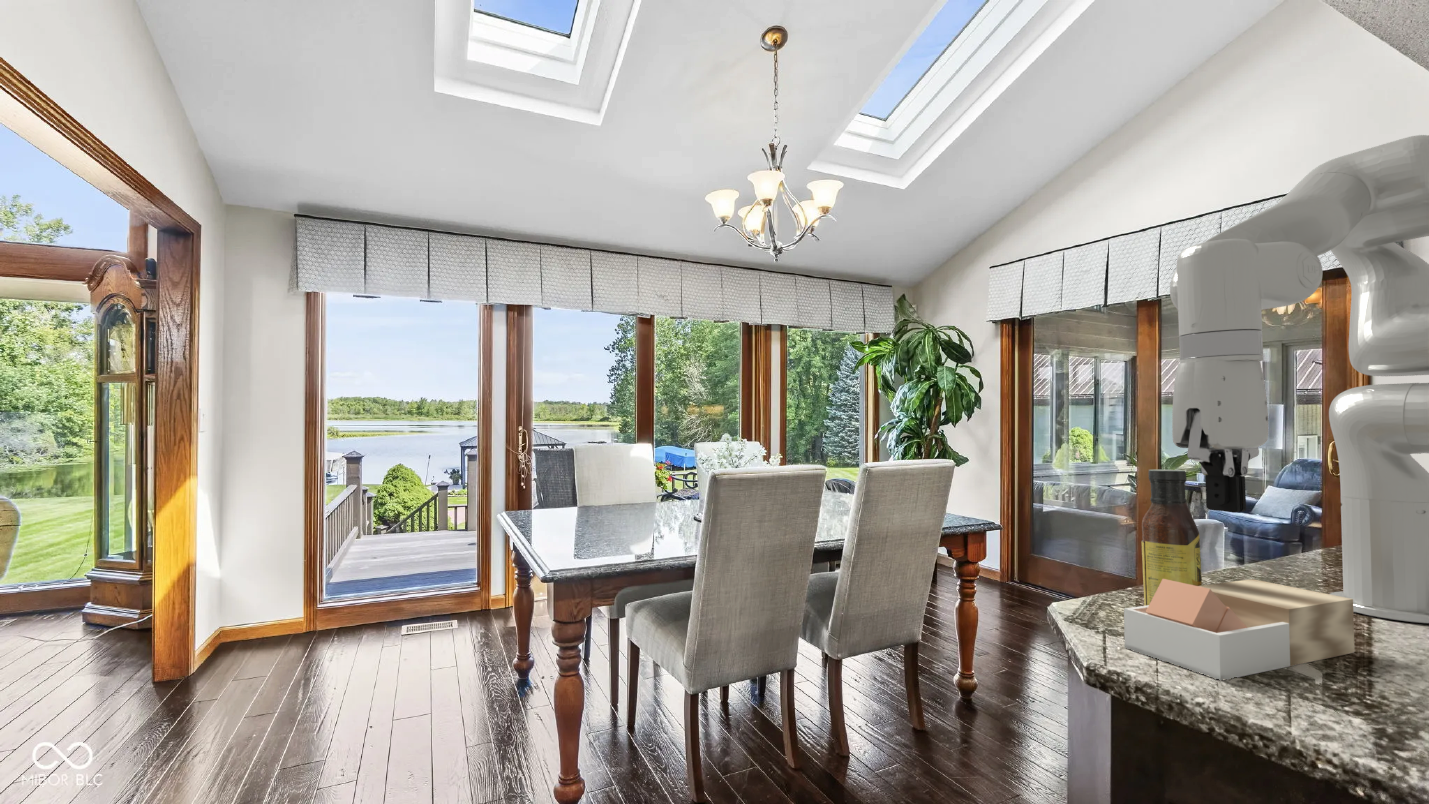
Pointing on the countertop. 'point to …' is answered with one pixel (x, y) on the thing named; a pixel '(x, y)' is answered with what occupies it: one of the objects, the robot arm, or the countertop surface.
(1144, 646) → the box
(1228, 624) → the block
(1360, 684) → the countertop surface
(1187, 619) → the block
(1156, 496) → the sauce bottle
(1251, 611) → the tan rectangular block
